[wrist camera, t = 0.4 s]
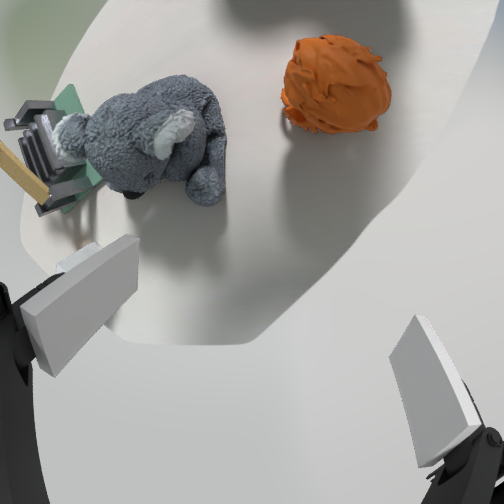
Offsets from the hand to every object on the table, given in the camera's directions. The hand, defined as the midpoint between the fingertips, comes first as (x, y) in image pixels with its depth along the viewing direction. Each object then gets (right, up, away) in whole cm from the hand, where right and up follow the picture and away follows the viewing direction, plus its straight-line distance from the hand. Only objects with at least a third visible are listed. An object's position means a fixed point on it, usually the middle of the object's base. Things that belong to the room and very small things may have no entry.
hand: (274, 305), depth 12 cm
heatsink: (-34, +21, +27) cm, 49 cm away
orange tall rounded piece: (+9, +22, +20) cm, 31 cm away
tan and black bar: (-36, +16, +15) cm, 42 cm away
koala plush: (-11, +19, +25) cm, 33 cm away
